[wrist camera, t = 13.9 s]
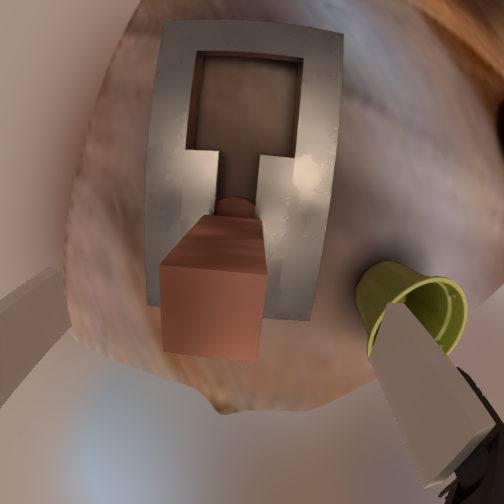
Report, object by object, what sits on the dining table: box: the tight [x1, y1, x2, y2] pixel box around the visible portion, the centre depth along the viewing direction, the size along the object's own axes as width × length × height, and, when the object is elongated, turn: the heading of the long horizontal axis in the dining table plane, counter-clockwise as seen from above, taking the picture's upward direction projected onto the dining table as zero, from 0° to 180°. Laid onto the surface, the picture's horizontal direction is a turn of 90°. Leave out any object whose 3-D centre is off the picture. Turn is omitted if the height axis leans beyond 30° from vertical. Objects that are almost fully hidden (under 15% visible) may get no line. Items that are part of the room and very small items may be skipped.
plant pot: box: [355, 261, 467, 369], centre depth 23 cm, size 9×9×9 cm
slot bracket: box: [144, 19, 344, 321], centre depth 22 cm, size 14×24×3 cm, turn 175°
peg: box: [159, 197, 268, 362], centre depth 18 cm, size 6×6×15 cm
